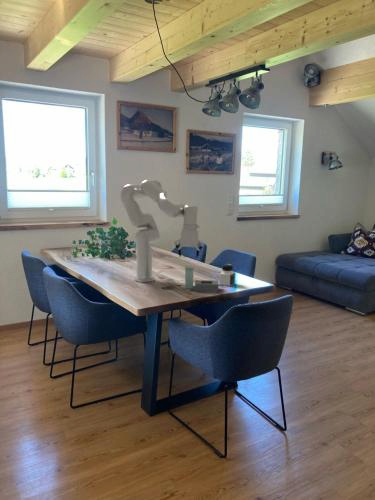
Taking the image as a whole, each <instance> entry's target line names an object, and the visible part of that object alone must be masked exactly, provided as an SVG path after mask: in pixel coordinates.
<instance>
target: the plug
mask: <svg viewBox="0 0 375 500" xmlns="http://www.w3.org/2000/svg"><path fill="white" fill-rule="evenodd" d="M194 267H195V266H194V265H185V267H184V270H185V276H184V277H185V282H184V283H185V284H184V285H185V288H193V286H194Z"/></svg>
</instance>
